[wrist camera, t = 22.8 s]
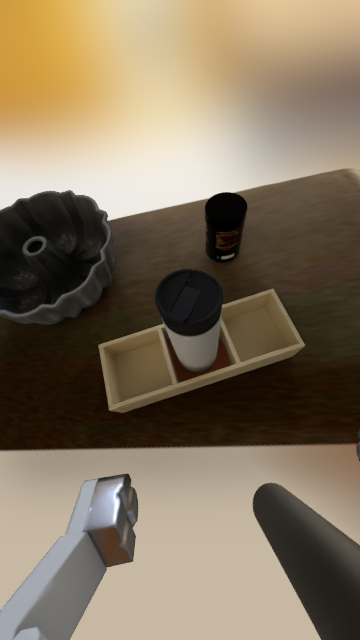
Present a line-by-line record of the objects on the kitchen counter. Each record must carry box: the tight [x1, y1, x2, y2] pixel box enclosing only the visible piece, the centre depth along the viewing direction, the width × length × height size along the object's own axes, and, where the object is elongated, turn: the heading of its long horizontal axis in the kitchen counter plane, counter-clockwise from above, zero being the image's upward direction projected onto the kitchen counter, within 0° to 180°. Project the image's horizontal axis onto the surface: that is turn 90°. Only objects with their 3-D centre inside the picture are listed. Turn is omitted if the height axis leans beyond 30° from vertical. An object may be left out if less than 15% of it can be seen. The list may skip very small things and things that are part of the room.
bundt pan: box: [0, 190, 116, 325], centre depth 45 cm, size 26×26×10 cm
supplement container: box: [205, 192, 247, 262], centre depth 44 cm, size 7×7×10 cm
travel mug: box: [155, 269, 223, 373], centre depth 30 cm, size 6×7×20 cm
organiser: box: [99, 289, 305, 413], centre depth 38 cm, size 10×28×6 cm, turn 107°
